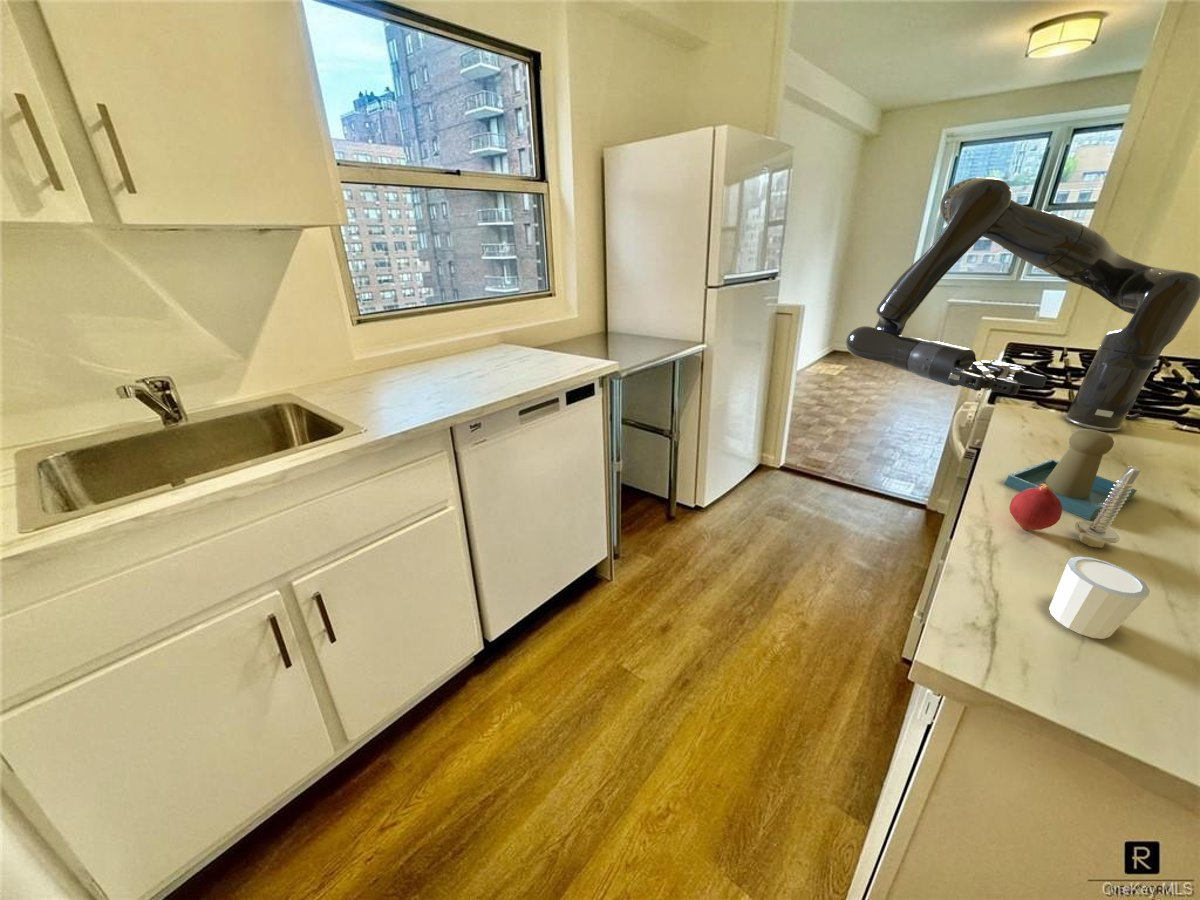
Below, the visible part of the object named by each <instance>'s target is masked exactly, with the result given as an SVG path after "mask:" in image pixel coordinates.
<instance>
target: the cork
mask: <svg viewBox="0 0 1200 900" xmlns="http://www.w3.org/2000/svg"><path fill="white" fill-rule="evenodd" d="M1068 444H1069V448H1068V449H1067V450H1066V452H1065V453H1064V454H1063V455H1062V457H1061V459H1060V460H1059V461H1058V462H1059V463H1058V464H1057V465H1056V467H1055V468H1054V469H1053V471H1052V472H1051V473H1050V475H1049V476H1048V478H1047V479H1046V480H1045V482H1044V484H1046V485H1048V486H1049V488H1050V489H1051V490H1052V491H1053V492H1055V493H1057V494H1060V495H1063V496H1067V497H1071V498H1077V499H1085V498H1088V497H1089V495H1090V492H1091V489H1092V486H1093V483H1094V480H1095V477H1096V475H1097V474H1098V472H1099V469H1100V465H1101V462H1102V459H1103V456H1104V455H1105V454H1106V455H1107V454H1108V453H1109V452H1110V451H1111V450H1112V449H1113V447H1114V445H1115V441H1114V438H1113V436H1111V435H1110V434H1108V433H1106V432H1105V431H1101V430H1095V429H1090V428H1081V429H1077V430H1075V431H1074V432H1072V434H1071V435H1070V437H1069V440H1068Z"/></svg>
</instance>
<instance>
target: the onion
mask: <svg viewBox="0 0 1200 900" xmlns="http://www.w3.org/2000/svg"><path fill="white" fill-rule="evenodd" d="M1009 513H1010V515H1011V516H1012V518H1013V519H1014V521H1015V522H1016V523H1017V524H1018V525H1019V527H1020V528H1021V529H1022V530H1024V531H1040V530H1044V529H1048V528H1051V527H1052V526H1054V525H1057V524H1058V522H1059V521H1060V520H1061V516H1062V513H1063V509H1062V504H1061V502H1060V500H1059V498H1058V497H1057V496H1056V495H1055V494H1054V493H1053V492H1052V490H1051V489H1050V488H1049V486H1048V485H1046V484H1040V486H1039V488H1030V489H1026V490H1024V491H1019V492H1018V493H1017V494H1015V495H1014V496H1013V498H1011V500H1010V503H1009Z"/></svg>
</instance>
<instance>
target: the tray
mask: <svg viewBox="0 0 1200 900" xmlns="http://www.w3.org/2000/svg"><path fill="white" fill-rule="evenodd" d="M1058 463H1059V461H1058V460H1055V459H1053V458H1050V459H1047V460H1045V461H1042V462H1039V463H1037V464H1035V465H1031V466H1029V467H1027V468H1024V469H1021V470H1019V471H1015V472H1013V473H1010V474H1008V475H1007V477H1006V480H1005V482H1004V485H1006V486H1007V487H1010V488H1013V489H1015V490H1017V491H1019V492H1022V491H1024V490H1026V489H1030V488H1039V486H1040V484H1044V482H1045V480H1046V479H1047V478H1048V476H1049V475H1050V473H1051V472H1052V471H1053V469H1054V468H1055V467H1056V465H1057V464H1058ZM1114 484H1117V482H1116V481H1114V480H1111V479H1107V478H1104V477H1102V476H1099V475H1097V474H1096V477H1095V480H1094V483H1093V486H1092V489H1091V492H1090V495H1089V497H1088V498H1085V499H1077V498H1071V497H1067V496H1063V495H1060V494H1057V493H1055V492H1053V491H1052V492H1053V493H1054V494H1055V495H1056V496H1057V497H1058V498H1059V500H1060V502H1061V504H1062V510H1064V511H1067V512H1069V513H1070V514H1074V515H1076V516H1078V517H1080V518H1083V519H1085V520H1087V521H1091V520H1094V519H1096V517H1095V516H1098V512H1100V510H1099V509H1102V507H1101V506H1102V505H1104V503H1103V502H1106V501H1107V500H1105V499H1108V496H1107V495H1110V494H1111V493H1110V492H1112V489H1111V488H1114V487H1115V486H1114ZM1136 492H1137V489H1136V488H1133V489H1131V493H1128V494H1129V496H1128V497H1126V498H1127V500H1125V501H1124V502H1125V503H1127V502H1129V501H1131V500H1132V499H1133V497H1134V496H1135V494H1136Z"/></svg>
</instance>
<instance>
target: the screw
mask: <svg viewBox="0 0 1200 900" xmlns="http://www.w3.org/2000/svg"><path fill="white" fill-rule="evenodd" d="M1140 473H1141V470H1140V469H1139V467H1138V466H1137V465H1129V466H1127V467H1126V469H1125V470H1124V472H1123V474H1122V476H1121V477H1120V479H1119V480H1116V481H1115V482H1116V483H1117V484H1114V486H1115V487H1114V488H1111V489H1112V492H1110V493H1111V494H1110V495H1107V496H1108V499H1105V500H1107V501H1106V502H1103V503H1104V505H1102V506H1101V507H1102V509H1099V510H1100V512H1098V516H1095V518H1093V521H1091V520H1080V521H1077V522H1075V523H1074V526H1073V527H1074V529H1075V530H1076V531H1077V532H1078V533H1080V534H1079V536H1078V538H1079V541H1080V543H1082V544H1085V545H1086V546H1088V547H1091V548H1104V546H1105V544H1116V543H1118V542H1119V541H1120V540H1121V537H1120V535H1119V534H1118V533H1117V531H1115V530H1114V528H1111V525H1113V522H1114V521H1115V519H1116V518H1117V515H1118V514H1119V512H1120V511H1121V508H1123V505H1124V504H1126V502H1124V501H1125V500H1127V498H1126V497H1128V496H1129V494H1128V493H1131V489H1134V487H1133V486H1135V484H1136V483H1135V481H1136V479H1137V477H1138V475H1139V474H1140Z"/></svg>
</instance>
